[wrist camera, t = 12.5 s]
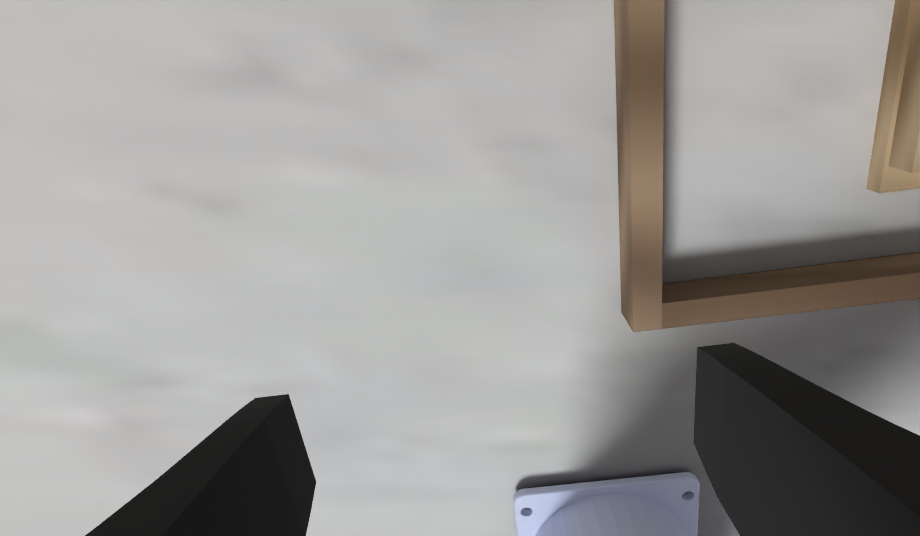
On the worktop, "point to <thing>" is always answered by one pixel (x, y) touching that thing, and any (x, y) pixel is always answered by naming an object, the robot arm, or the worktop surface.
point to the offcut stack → (899, 107)
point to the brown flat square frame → (643, 216)
